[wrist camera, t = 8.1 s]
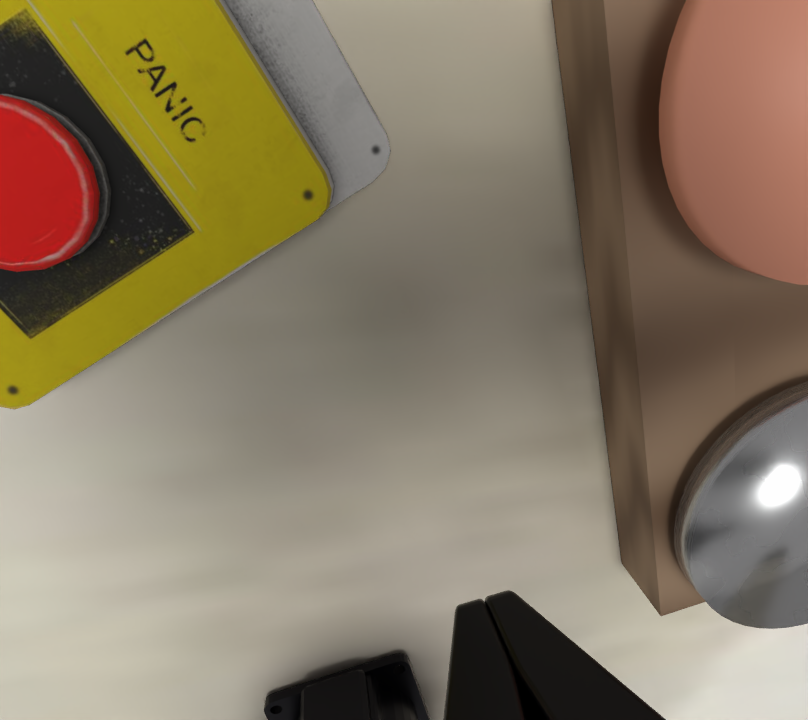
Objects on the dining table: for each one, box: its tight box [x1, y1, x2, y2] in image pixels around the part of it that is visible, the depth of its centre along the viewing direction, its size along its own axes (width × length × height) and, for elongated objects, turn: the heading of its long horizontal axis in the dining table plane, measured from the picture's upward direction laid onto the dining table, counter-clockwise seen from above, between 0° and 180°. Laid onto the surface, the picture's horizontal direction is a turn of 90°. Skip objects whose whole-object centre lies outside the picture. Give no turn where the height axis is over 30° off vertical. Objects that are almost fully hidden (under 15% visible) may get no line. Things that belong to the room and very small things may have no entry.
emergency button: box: [0, 0, 391, 409], centre depth 14 cm, size 9×4×15 cm
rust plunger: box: [659, 0, 808, 285], centre depth 15 cm, size 10×10×4 cm
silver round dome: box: [674, 381, 808, 629], centre depth 21 cm, size 10×10×4 cm
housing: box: [552, 0, 808, 616], centre depth 19 cm, size 22×11×3 cm, turn 14°
